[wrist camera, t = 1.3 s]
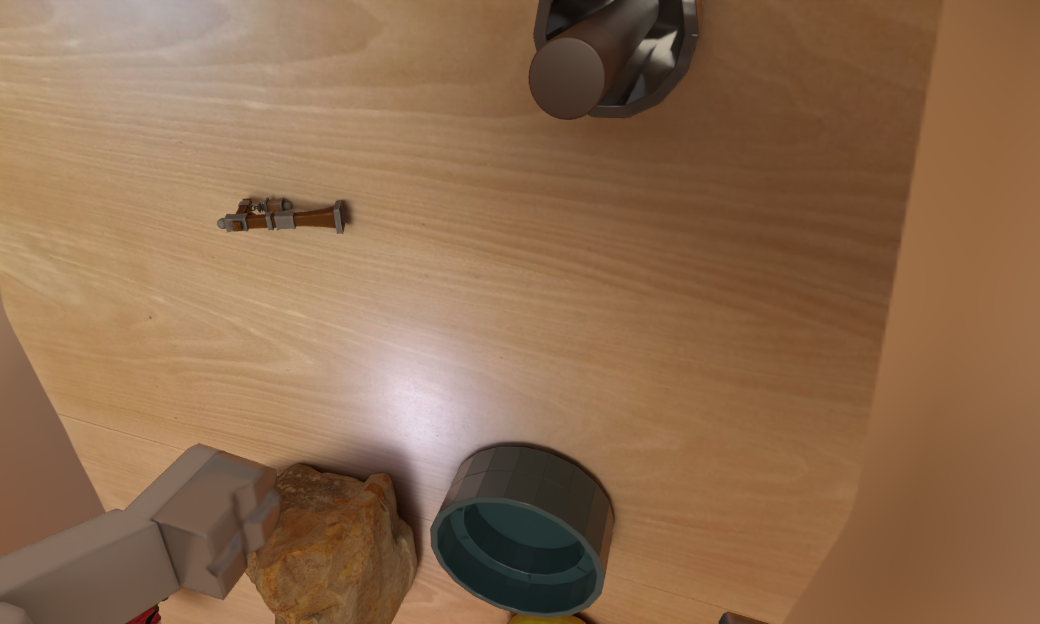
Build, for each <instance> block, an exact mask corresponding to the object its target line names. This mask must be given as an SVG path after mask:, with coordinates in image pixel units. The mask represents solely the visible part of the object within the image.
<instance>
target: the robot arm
mask: <svg viewBox="0 0 1040 624" xmlns="http://www.w3.org/2000/svg"><path fill="white" fill-rule="evenodd" d="M277 481H278V478H277V473H276V469H275V468H273V467H270V466H267V465H264V464H261V463H258V462H255V461H252V460H249V459H246V458H243V457H240V456H237V455H234V454H230V453H227V452H225V451H223V450H219V449H216V448H213V447H210V446H207V445H203V444H200V443H198V444H196V445H194V446H192V447H190V448H188V449H187V450H186V451H185V452H184V453H183V454H182V455H181V456H180V457H179V458H178V459H177V460H176V461H175V462H174V463H173V464H172V465H170V466H169V467H168V468H167V469H166V470H165V471H164V472H163V473H162V474H161V475H160V476H159V477H158V478H157V479H156V480H155V481H154V482H153V483H152V484H151V485H150V486H149V487H148V488H147V489H145V490H144V491H143V492H142V493H141V494H140V495H139V496H138V497H137V498H136V499H135V500H134V501H133V502H132V503H131V504H130V505H129V506H128V507H127V508H126V509H125V510H124V511H123V510H120V509H114V510H111V511H109V512H107V513H104V514H102V515H99V516H97V517H95V518H92V519H90V520H87V521H85V522H83V523H80V524H78V525H75V526H73V527H71V528H68V529H66V530H63V531H61V532H59V533H57V534H54V535H51V536H49V537H47V538H44V539H42V540H39V541H37V542H35V543H32V544H30V545H27V546H25V547H23V548H20V549H18V550H16V551H13V552H11V553H8V554H6V555H3V556H1V557H0V624H125V623H127V622H129V621H130V620H132V619H133V618H135V617H137V616H138V615H140V614H142V613H143V612H145V611H146V610H148V609H150V608H151V607H153V606H154V605H156V604H158V603H159V602H161V601H162V600H164V599H166V598H167V597H169V596H170V595H172V594H174V593H175V592H177V591H178V590H180V586H181V587H184V588H187V589H190V590H193V591H196V592H200V593H203V594H206V595H209V596H212V597H215V598H218V599H221V600H224V599H225V597H226V596H227V595H228V593H229V592H230V591H231V589H232V588H233V587H234V585H235V584H236V583H237V581H238V580H239V579H240V577H241V576H242V575H243V573H244V572H245V571H246V569H247V568H248V554H249V553H251V552H253V551H255V550H257V549H259V548H261V547H263V546H264V545H265V544H266V542H267V541H268V540H269V538H270V537H271V535H272V534H273V532H274V530H275V528H276V526H277V523H278V521H279V519H280V516H281V509H282V501H281V496H280V495H279V494H278V492H277V491H276V490H275V489H274V488H273V486H274V485H275V484H276V482H277ZM719 624H769V623H765V622H762V621H759V620H755V619H752V618H749V617H745V616H742V615H738V614H735V613H732V612H726V613H724V614H723V615H722V617H721V619H720V620H719Z"/></svg>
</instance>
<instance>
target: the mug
mask: <svg viewBox="0 0 1040 624" xmlns="http://www.w3.org/2000/svg"><path fill="white" fill-rule="evenodd" d="M508 624H587V623H585V622H584V621H583V620H581V619H579V618H577V617H575V616H573V615H569V616H560V617H552V618H544V617H535V616H525V615H520V614H516V615H515V616H513V618H512V619H511V620H510V621H509V623H508Z"/></svg>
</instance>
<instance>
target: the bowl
mask: <svg viewBox="0 0 1040 624" xmlns="http://www.w3.org/2000/svg"><path fill="white" fill-rule="evenodd" d="M613 526H614V518H613V514H612V510H611V506H610V502H609V500H608V499H607V497H606V496H605V494H604V493H603V491H602V490H601V489H600V487H599V486H598V484H597V483H596V482H595V481H594V480H593V479H591V478H590V477H589V476H588V475H587V474H585V473H584V472H583V471H582V470H580V469H579V468H578V467H577V466H575V465H573V464H571V463H569V462H567V461H565V460H563V459H561V458H559V457H557V456H555V455H553V454H550V453H548V452H543V451H539V450H535V449H531V448H527V447H495V448H492V449H488V450H485V451H482V452H478V453H476V454H475V455H473V456H472V457H471V458H469V459H468V460H467V461H466V462H464V463H463V464H462V465H461V466H460V468H459V470H458V472H457V474H456V476H455V478H454V480H453V482H452V485H451V487H450V489H449V491H448V493H447V495H446V497H445V499H444V501H443V503H442V505H441V507H440V510H439V512H438V514H437V516H436V518H435V520H434V522H433V524H432V526H431V529H430V532H431V547H432V549H433V551H434V554H435V556H436V558H437V560H438V562H439V564H440V565H441V566H442V568H443V569H444V570H445V571H446V572H447V573H448V574H449V576H450V577H451V578H452V579H453V580H454V581H455V582H456V583H457V584H459V585H460V586H461V587H463V588H464V589H465V590H467V591H468V592H469V593H471V594H472V595H473V596H475V597H477V598H479V599H481V600H483V601H485V602H487V603H489V604H491V605H493V606H495V607H497V608H500V609H504V610H507V611H510V612H514V613H517V614H520V615H525V616H535V617H544V618H552V617H560V616H569V615H573V614H575V613H577V612H579V611H582V610H584V609H586V608H589V607H590V606H591V605H592V604H593V603H594V601H595V600H596V599H597V598H598V597H599V596H600V595H601V593H602V589H603V584H604V579H605V574H606V568H607V562H608V556H609V550H610V544H611V538H612V532H613Z"/></svg>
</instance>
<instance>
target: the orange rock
mask: <svg viewBox="0 0 1040 624" xmlns="http://www.w3.org/2000/svg"><path fill="white" fill-rule="evenodd" d="M273 488H274V489H275V490H276V491H277V492H278V494H279V495H280V496H281V501H282V509H281V516H280V519H279V521H278V523H277V526H276V528H275V530H274V532H273V534H272V535H271V537H270V538H269V540H268V541H267V542H266V544H265V545H264V546H263V547H261V548H259V549H257V550H255V551H253V552H251V553H249V554H248V568H247V569H246V571H245V573H246V574H247V575H248V576H249V578H250V580H251V582H252V583H254V584H255V585H256V588H257V590H258V592H259V593H260V594H261V596H262V598H263V600H264V602H265V604H266V605H267V607H268V608H269V609H270V610H271V611H272V612H273V613H274V614H275V618H276V619H275V624H391V623H392V621H393V619H394V618H395V616H396V614H397V612H398V610H399V608H400V605H401V603H402V601H403V599H404V597H405V595H406V594H407V592H408V591H409V590H410V588H411V586H412V583H413V580H414V578H415V575H416V570H417V562H418V560H417V557H416V554H415V544H414V537H413V532H412V529H411V527H410V526H409V525H407V524H406V523H405V521H403V520H402V519H401V518H399V516H398V513H397V501H396V495H395V491H394V488H393V484H392V481H391V479H390V477H389V475H387V474H385V473H380V474H371V475H370V476H369V478H368V479H367V480H366V481H365V482H361V481H359V480H358V479H356V478H352V477H348V476H343V475H338V474H333V473H322V474H321V473H320V472H318V471H316V470H314V469H312V468H311V467H309V466H305V465H301V464H297V465H295V466H292V467H290V468H288V469H286V470H285V471H284V472H283V473H282V474H281V475H280V476H279V477H278V481H277V482H276V484H275V485H274V486H273Z"/></svg>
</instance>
